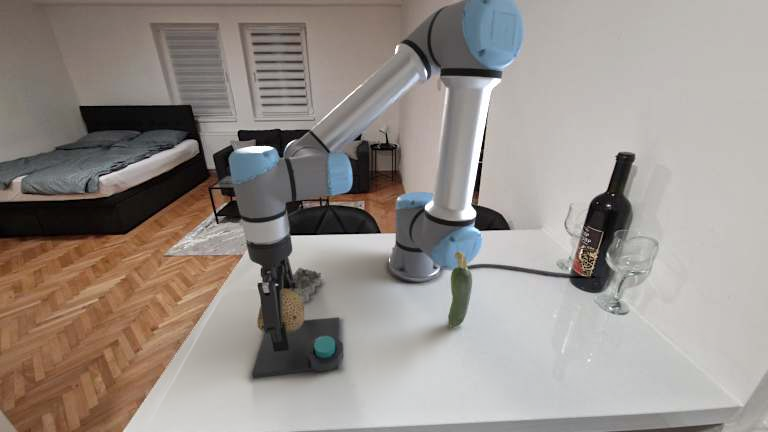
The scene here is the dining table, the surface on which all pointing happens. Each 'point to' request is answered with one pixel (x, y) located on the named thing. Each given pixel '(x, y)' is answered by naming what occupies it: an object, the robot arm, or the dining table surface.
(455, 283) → the vegetable
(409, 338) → the dining table surface
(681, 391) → the dining table surface
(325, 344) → the tare button
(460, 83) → the robot arm
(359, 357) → the dining table surface
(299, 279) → the grey rock
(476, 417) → the dining table surface
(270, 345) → the scale
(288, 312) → the natural sponge
